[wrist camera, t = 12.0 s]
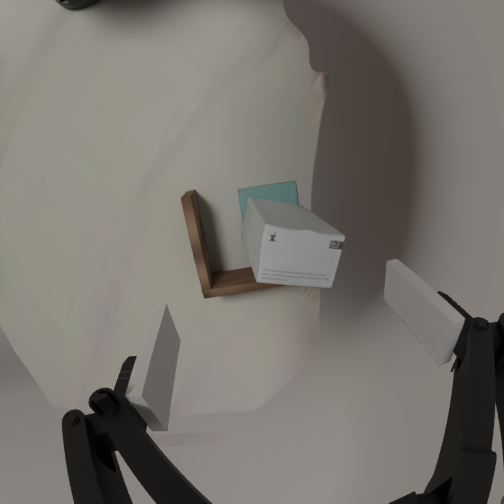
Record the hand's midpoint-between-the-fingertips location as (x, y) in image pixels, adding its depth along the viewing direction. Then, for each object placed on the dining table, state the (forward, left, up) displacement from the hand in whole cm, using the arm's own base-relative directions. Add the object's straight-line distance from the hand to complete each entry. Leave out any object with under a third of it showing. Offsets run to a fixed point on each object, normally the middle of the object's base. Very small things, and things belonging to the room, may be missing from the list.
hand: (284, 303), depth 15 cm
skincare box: (+2, +3, -25) cm, 25 cm away
